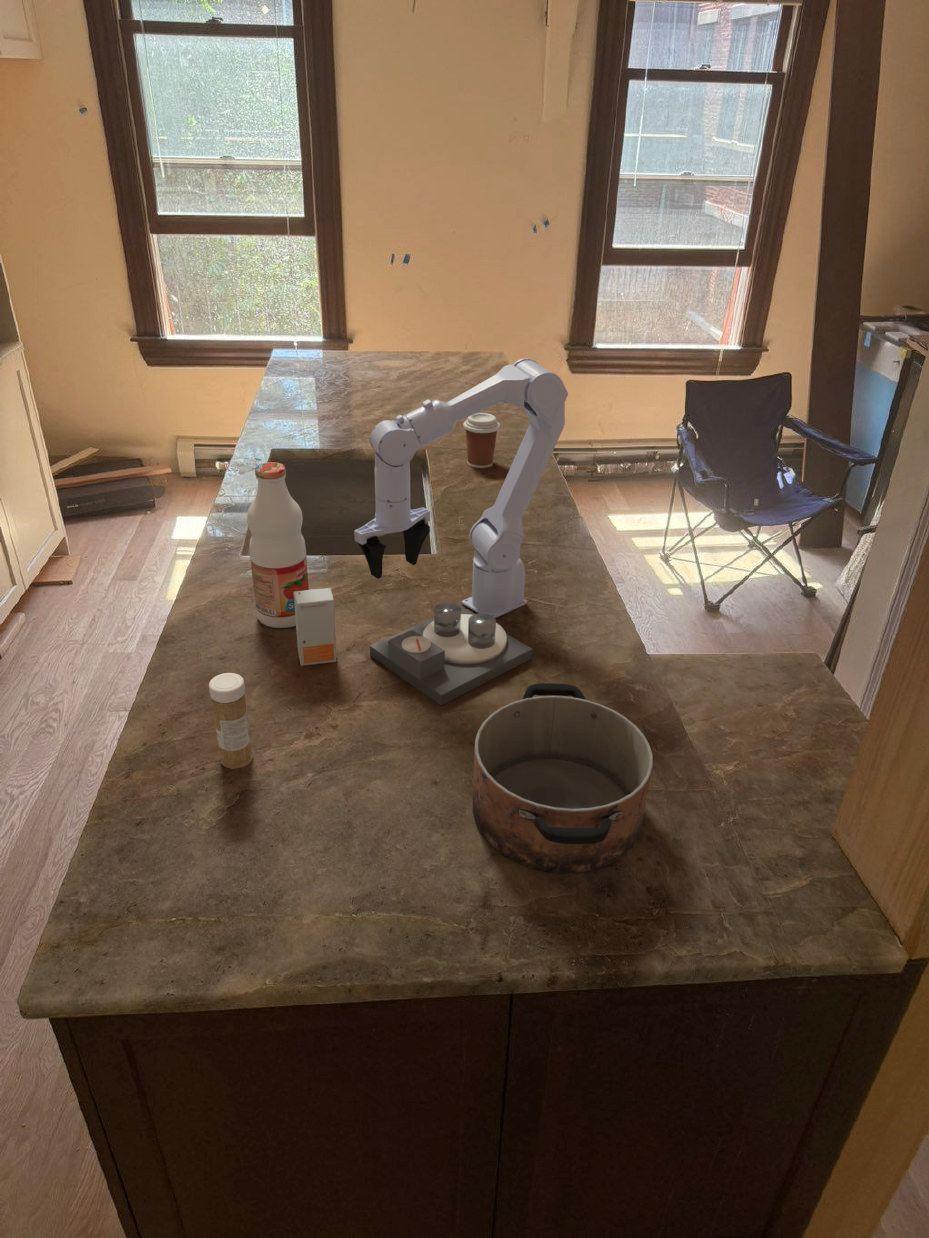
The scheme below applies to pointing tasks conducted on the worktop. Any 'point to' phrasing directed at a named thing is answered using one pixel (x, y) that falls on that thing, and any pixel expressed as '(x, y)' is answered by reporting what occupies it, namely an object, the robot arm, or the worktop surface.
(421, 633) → the kitchen scale
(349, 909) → the worktop surface
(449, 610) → the cylinder
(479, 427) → the coffee cup
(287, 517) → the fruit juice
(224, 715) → the sprinkles bottle
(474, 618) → the cylinder
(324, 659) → the skincare box
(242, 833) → the worktop surface
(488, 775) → the cooking pot
